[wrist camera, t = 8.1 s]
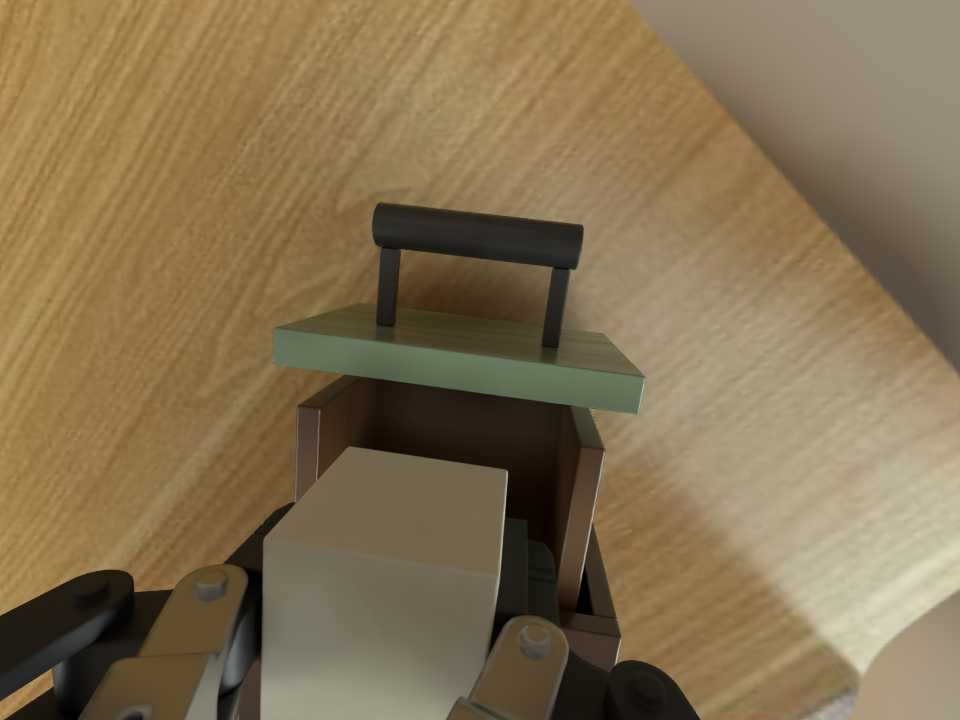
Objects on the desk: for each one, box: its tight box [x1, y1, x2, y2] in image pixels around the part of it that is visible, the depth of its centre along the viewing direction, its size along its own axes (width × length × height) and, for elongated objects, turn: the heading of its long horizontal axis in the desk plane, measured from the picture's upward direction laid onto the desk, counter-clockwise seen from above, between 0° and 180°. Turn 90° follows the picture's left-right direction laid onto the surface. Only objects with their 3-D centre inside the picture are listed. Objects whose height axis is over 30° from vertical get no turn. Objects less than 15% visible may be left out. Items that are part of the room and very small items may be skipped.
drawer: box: [273, 202, 646, 613], centre depth 19 cm, size 18×11×8 cm, turn 174°
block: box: [260, 446, 508, 720], centre depth 11 cm, size 4×4×4 cm
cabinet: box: [239, 521, 622, 720], centre depth 22 cm, size 15×13×10 cm
